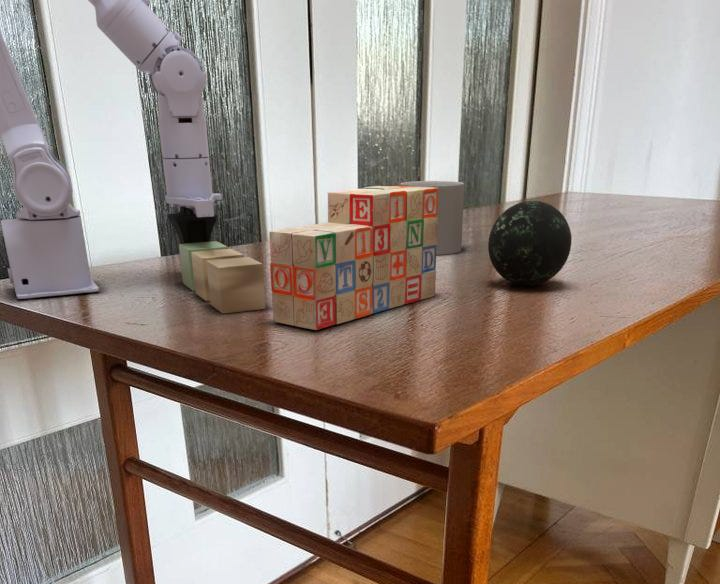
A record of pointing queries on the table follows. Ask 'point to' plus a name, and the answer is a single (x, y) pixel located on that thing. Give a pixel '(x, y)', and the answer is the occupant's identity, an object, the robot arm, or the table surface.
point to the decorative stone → (529, 243)
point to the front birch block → (236, 284)
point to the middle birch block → (201, 268)
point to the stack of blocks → (356, 257)
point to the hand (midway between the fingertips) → (197, 269)
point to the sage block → (187, 258)
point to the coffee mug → (447, 213)
